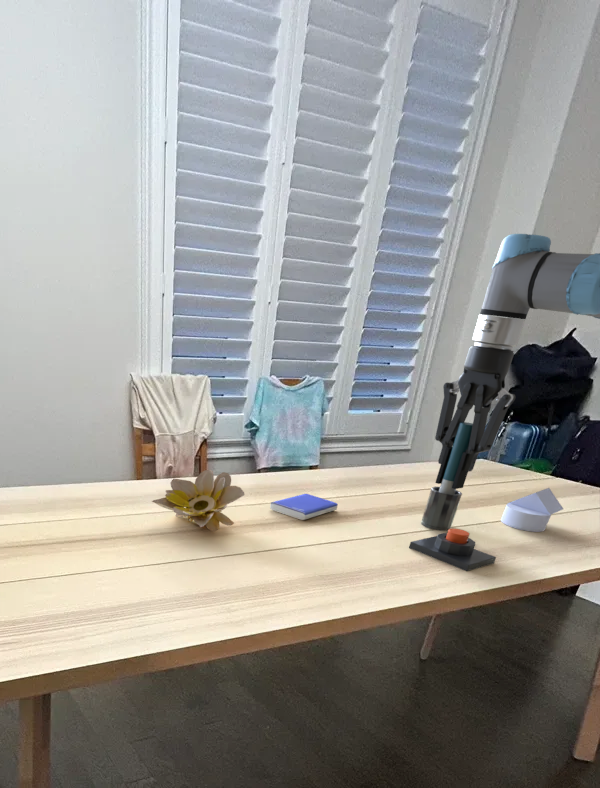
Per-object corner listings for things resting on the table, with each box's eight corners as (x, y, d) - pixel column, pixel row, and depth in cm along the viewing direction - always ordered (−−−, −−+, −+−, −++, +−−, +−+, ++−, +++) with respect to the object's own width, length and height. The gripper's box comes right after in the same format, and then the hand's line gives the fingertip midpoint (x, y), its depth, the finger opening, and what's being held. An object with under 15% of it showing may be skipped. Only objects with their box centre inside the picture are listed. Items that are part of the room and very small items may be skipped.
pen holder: (455, 528, 128) (467, 493, 124) (439, 532, 124) (451, 496, 120) (431, 520, 131) (442, 485, 127) (415, 523, 128) (425, 488, 124)
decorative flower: (136, 504, 113) (152, 447, 108) (178, 511, 121) (195, 457, 117) (193, 536, 105) (212, 476, 101) (234, 541, 114) (254, 485, 109)
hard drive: (305, 512, 121) (338, 503, 129) (270, 501, 125) (304, 492, 133) (303, 520, 122) (336, 510, 130) (269, 509, 126) (303, 500, 134)
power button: (470, 543, 112) (473, 533, 111) (459, 546, 110) (462, 536, 109) (452, 536, 114) (455, 527, 113) (441, 539, 112) (444, 529, 111)
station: (494, 563, 112) (500, 547, 110) (466, 571, 107) (472, 554, 105) (436, 541, 119) (441, 525, 118) (408, 548, 114) (413, 531, 113)
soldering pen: (454, 501, 125) (479, 425, 117) (446, 503, 123) (471, 425, 115) (441, 497, 127) (465, 421, 119) (433, 499, 125) (456, 422, 117)
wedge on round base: (516, 512, 143) (494, 521, 135) (528, 482, 140) (506, 489, 131) (557, 524, 139) (536, 534, 130) (570, 493, 135) (550, 501, 127)
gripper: (441, 339, 113) (403, 476, 126) (525, 352, 103) (475, 498, 116) (464, 341, 117) (425, 473, 130) (547, 353, 107) (496, 495, 120)
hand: (449, 485), depth 123 cm, fingers closed on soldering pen, 3 cm apart
